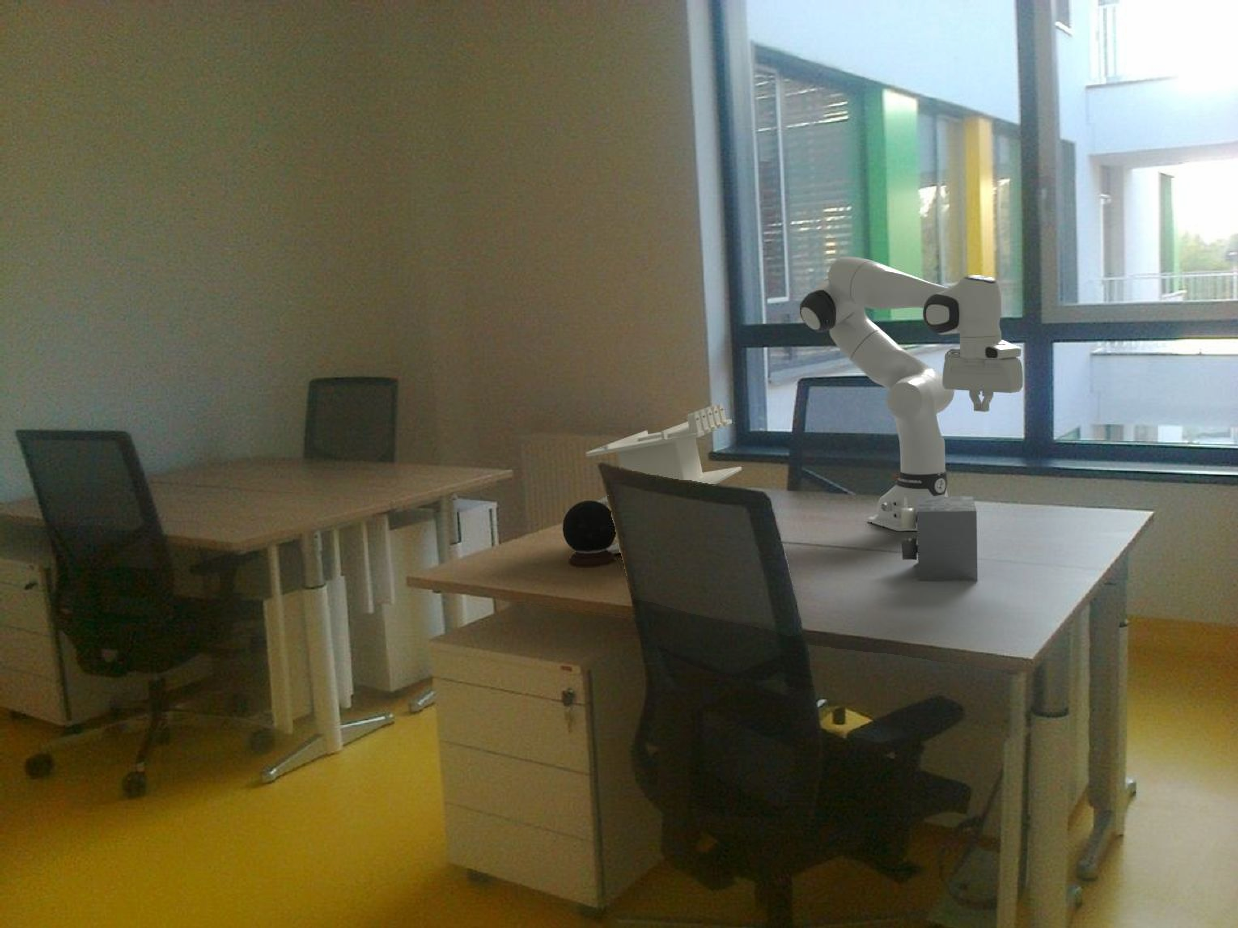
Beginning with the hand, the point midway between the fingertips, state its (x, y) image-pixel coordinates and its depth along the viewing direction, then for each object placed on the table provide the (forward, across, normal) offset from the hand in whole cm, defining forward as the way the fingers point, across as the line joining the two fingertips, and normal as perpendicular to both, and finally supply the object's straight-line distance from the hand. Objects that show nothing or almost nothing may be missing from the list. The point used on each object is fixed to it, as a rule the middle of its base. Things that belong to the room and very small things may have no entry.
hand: (981, 411), depth 259 cm
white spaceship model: (+33, -62, -44) cm, 83 cm away
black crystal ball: (+33, -61, -68) cm, 97 cm away
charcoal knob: (+29, +4, -22) cm, 37 cm away
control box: (+33, +4, -16) cm, 37 cm away
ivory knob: (+24, -2, -16) cm, 29 cm away
